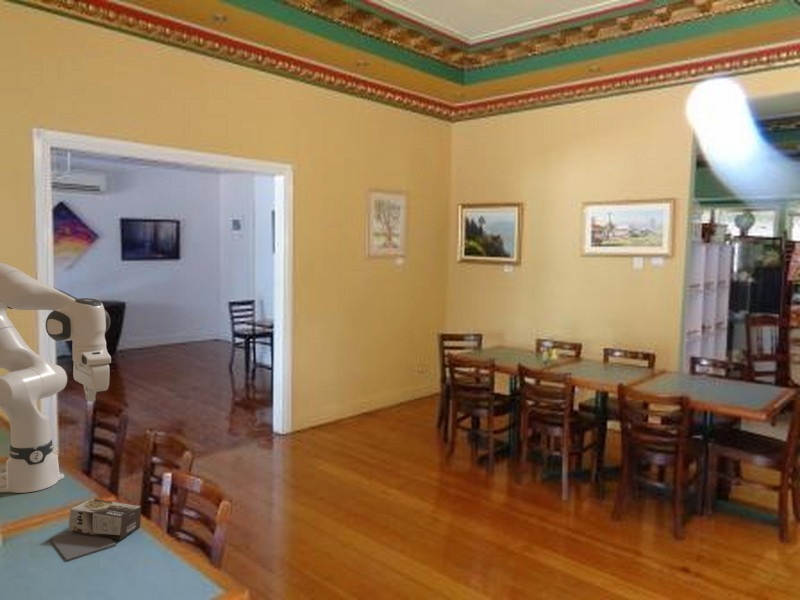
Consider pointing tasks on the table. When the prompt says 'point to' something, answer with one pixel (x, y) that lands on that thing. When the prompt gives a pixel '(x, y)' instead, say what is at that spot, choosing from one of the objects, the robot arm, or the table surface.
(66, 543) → the mat
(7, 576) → the table surface
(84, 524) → the coffee box
